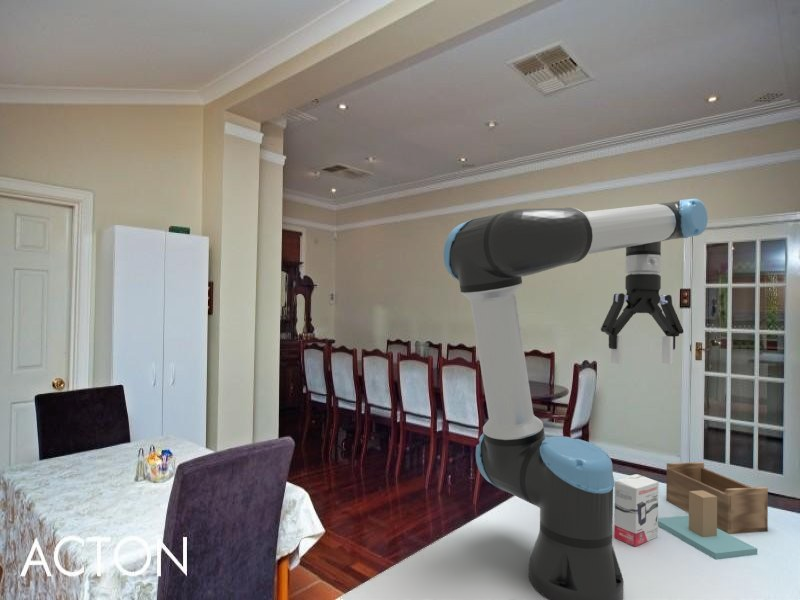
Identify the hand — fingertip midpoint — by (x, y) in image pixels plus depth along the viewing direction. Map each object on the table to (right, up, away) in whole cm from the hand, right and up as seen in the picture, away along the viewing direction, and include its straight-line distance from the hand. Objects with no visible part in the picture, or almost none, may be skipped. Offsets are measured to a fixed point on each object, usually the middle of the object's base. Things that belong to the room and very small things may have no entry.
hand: (641, 363), depth 113 cm
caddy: (+16, -35, -2) cm, 38 cm away
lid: (+5, -35, -14) cm, 38 cm away
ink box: (-9, -34, -14) cm, 38 cm away
